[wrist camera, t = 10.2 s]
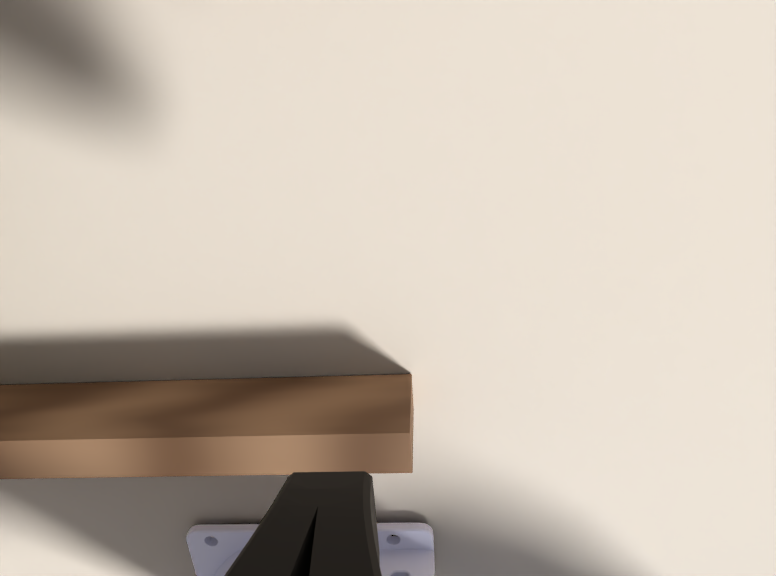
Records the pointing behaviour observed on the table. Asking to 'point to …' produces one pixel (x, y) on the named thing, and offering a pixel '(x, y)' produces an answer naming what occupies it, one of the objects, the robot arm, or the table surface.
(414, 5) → the table surface
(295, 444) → the bay
